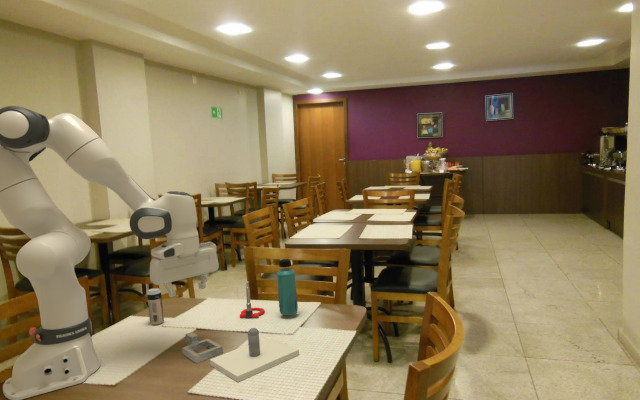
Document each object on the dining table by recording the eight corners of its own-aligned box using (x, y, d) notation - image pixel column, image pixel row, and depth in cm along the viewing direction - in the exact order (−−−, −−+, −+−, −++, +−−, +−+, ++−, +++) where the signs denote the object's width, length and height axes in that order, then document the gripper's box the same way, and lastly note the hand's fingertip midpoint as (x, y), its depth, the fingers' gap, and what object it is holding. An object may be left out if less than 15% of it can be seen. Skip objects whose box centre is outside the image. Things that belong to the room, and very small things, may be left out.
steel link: (176, 350, 133) (175, 337, 132) (202, 341, 138) (201, 328, 138) (196, 363, 124) (194, 349, 123) (223, 352, 129) (221, 339, 129)
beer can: (167, 321, 157) (164, 288, 155) (155, 326, 153) (152, 292, 151) (158, 319, 159) (155, 287, 158) (146, 324, 155) (143, 290, 154)
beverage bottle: (297, 319, 152) (294, 261, 150) (278, 319, 153) (274, 262, 150) (298, 312, 159) (295, 257, 157) (280, 313, 159) (276, 257, 157)
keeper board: (237, 382, 112) (235, 347, 111) (210, 364, 122) (207, 333, 121) (299, 354, 125) (297, 323, 124) (269, 341, 136) (267, 312, 135)
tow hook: (245, 310, 165) (237, 318, 156) (243, 276, 164) (235, 282, 155) (267, 310, 164) (260, 319, 155) (265, 275, 163) (258, 282, 154)
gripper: (210, 239, 140) (213, 282, 141) (145, 251, 126) (149, 299, 128) (220, 241, 135) (224, 285, 137) (154, 254, 122) (159, 303, 123)
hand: (187, 292), depth 132 cm, fingers open, 8 cm apart
